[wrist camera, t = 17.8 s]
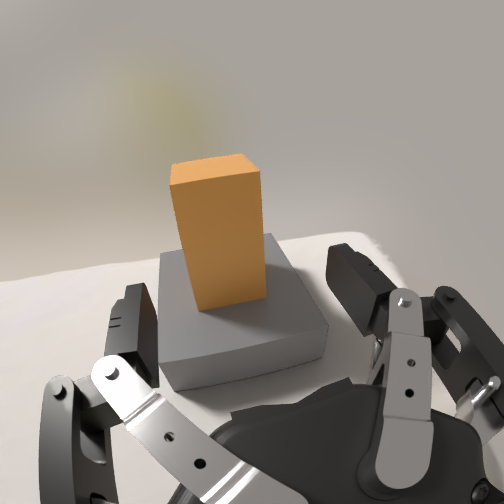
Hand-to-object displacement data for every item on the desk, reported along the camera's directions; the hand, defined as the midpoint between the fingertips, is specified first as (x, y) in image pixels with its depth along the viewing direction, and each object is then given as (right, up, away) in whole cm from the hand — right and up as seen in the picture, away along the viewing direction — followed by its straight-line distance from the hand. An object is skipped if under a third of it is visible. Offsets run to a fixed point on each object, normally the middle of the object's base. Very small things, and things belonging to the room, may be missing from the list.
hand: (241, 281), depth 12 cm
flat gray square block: (-1, -5, +14) cm, 15 cm away
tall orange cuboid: (-2, -1, +12) cm, 12 cm away
